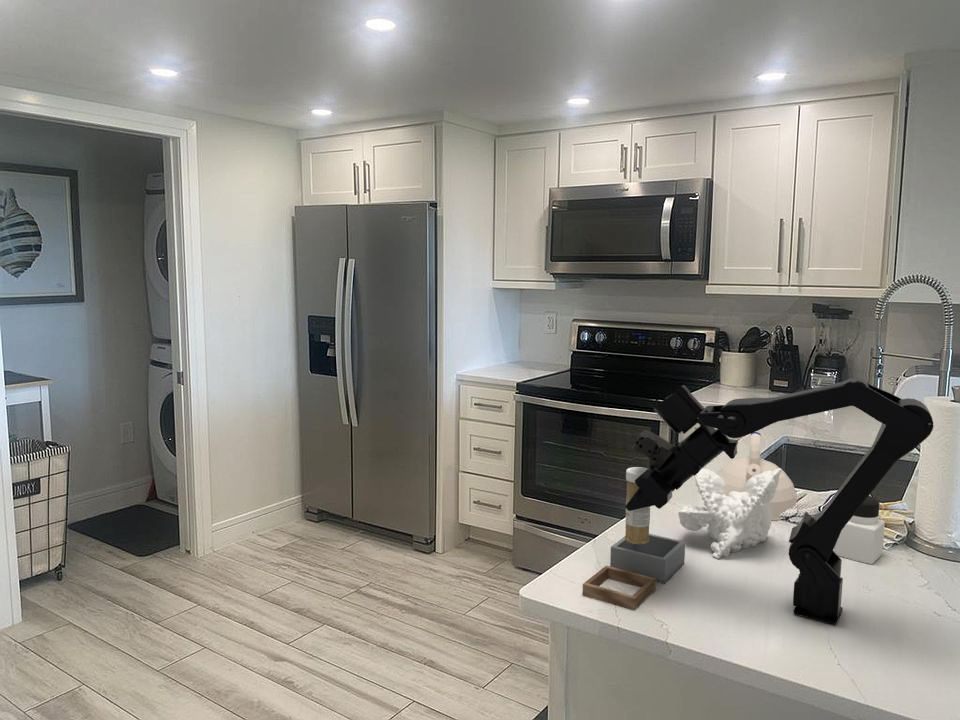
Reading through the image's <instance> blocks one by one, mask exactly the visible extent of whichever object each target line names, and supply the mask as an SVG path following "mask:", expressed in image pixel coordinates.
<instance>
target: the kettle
mask: <svg viewBox="0 0 960 720" xmlns="http://www.w3.org/2000/svg"><path fill="white" fill-rule="evenodd" d="M761 435H762V434H761V433H760V432H758V431H756V432H753V433H751V434H750V439H749V441H750V442H749V455H748V456H747V457H741V458H738V459H734V460H733V459H732V461H730V462H728V463H726V464H725V465H723V466H722V467H721V468H720V469H719V470H718V471H717V472H715V474H717V475H719V476H720V477H721V478H722V479H723V480H724V482H725V484H726V490H725V491H724V492H722V493H723V494H725V495H726V496H729V493H730V492H732V491H737V492H746V491H745V485H746V483H747V481H748V480H749V479H750V478H751V477H753V476H755V475H758V474H761V473H763V472H765V471H769V470H770V471H773V470H775V469H779V468H780V467H779V466H778V465H776V464H775V463H774V462H771V461H768V460H765V459H763V458H761V443H762V442H761V440H762V439H761ZM796 503H797V504H798V495H797V491H796V489H795V486H794V483H793V481H792V480H791V479H790V477H789V475H787V473H786V472H785V471H784V470H783V469H782V471H781V473H780V476H779V482H778V485H777V488H776V492H775V495H774V497H773V499H771V500H770V501H769V502H768V503H761V504H766V505H768V506H769V507H770V509H771V512H772V519H771V522H772V521H782V520H781V517H780V514H781V513H783V512H785V511H786V510H787V509H790V508H792V507H793V506H794V505H796Z"/></svg>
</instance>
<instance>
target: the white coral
mask: <svg viewBox="0 0 960 720" xmlns="http://www.w3.org/2000/svg"><path fill="white" fill-rule="evenodd" d="M782 470H783V469H782V468H781V467H779V469H775V470H773V471H770V470H769V471H765V472H763V473H761V474H758V475H755V476H753V477H751V478H750V479H749V480H748V481H747V483H746V485H745V491H746V492H737V491H732V492H730V493H729V496H726V495H725V494H723V493H722V492H724V491H725V490H726V484H725V482H724V480H723V479H722V478H721V477H720V476H719V475H717V474H716V472H714V471H713V470H711V469H708V468H704V467H703V468H702V469H701V470H700V471H699V473H697V474H696V475H695V479H694V480H695V486H696V487H697V489H698V490H697V492H698V494H699V495H700V496H701V499H702V501H703V505H704V506H701V507H699V506H697V505H693V504H689V505H685V506H682V508H680V509H679V510H678V514H677V515H678V518H679V524H680V525H681V526H682V527H683V528H684V529H686V530H688V531H692V532H696V531H700V530H701V529H703V528H705V527H706V529H707V532H708V534H709V535H710V537H711V539H712V540H714V541H713V542H712V543H711V544H710V549H711V550H712V551H713V553H712V557H713V558H714V559H717V560H718V559H722V557H725V558H727V557H730V552H732V553H737V552H739V551H740V550H741V549H748V548H749V547H751V548H754V547H756V546H757V545H758V544H759V543H763V542H766V540H767V539H766V538H767V537H768V535H769V530H770V529H771V525H772V521H771V519H772V512H771V509H770V507H769V506H768V505H766V504H761V503H768V502H769V501H770V500H771V499H773V497H774V495H775V492H776V488H777V485H778V482H779V476H780V473H781V471H782Z"/></svg>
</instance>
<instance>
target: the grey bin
mask: <svg viewBox="0 0 960 720" xmlns="http://www.w3.org/2000/svg"><path fill="white" fill-rule="evenodd" d="M649 539H650V540H649V542H648V543H646V544H632V543H629V542H627V541H626V540H625V536H624V537H622V538H621V539H619V540H618V541H617V542H615V543H614V544H613V545H611V546H610V556H609V557H610V559H609V560H610V561H609V562H610V563H609V566H610V567H614V568H618V569H622V570H626V571H630V572H634V573H637V574H641V575H645V576H649V577H653V578H656V583H659V584H662V585H665V584H666V583H667V582H668V581H669V580H670V579H671V578H672V577H673V576H674V575H675V574H676V573H677V572H678V571H679V570H680V569H681V568H682V567H683V566H684V565H685V559H686V558H685V556H686V541H684V540H678V539H675V538H670V537H665V536H661V535H658V534H657V535H656V534H653V533H649Z"/></svg>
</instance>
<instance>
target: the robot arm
mask: <svg viewBox="0 0 960 720" xmlns="http://www.w3.org/2000/svg"><path fill="white" fill-rule="evenodd" d="M848 407H855V408H856V409H858V410H860V411H861V412H863V413H865V414H867V415H868V416H870V417H871V418H872V419H874V420H876V421H877V422H879V423H881V425H880V428H879V430H878V432H877V434H876V437H875V439H874V442H873V444H872V445H871V446H870V448H868V450H867V451H866V453H865V454H864V455H863V457H862V458H861V459H860V460H859V461H858V463H857V464H856V466H855V467H854V468H853V470H852V471H851V473H850V474H849V475H848V476H847V477H846V478H845V481H843V483H842V484H841V486H840V487H839V488H838V489H837V491H836V492H835V493H834V495H833V496H832V497H831V499H830V500H829V501H828V502H827V503H826V505H825V506H824V508H823V509H822V510H821V511H819V512H818V513H816V514H815V515H814V516H812V515H810V514H809V513H808V512H807V511H805V512H804V514H803V516H802V518H801V520H800V522H799V523H798V524H797V525H795V526H793V527H792V528H791V532H790V535H789V539H788V543H790V545H789V547H788V548H789V549H788V552H787V553H788V557H789V561H790V562H791V564H792V566H794V567H795V568H796V569H798V570H799V574H798V575H797V576H798V577H797V578H796V580H795V581H794V583H793V594H792V595H793V596H792V597H793V598H792V606H793V607H794V609H793V614H794V615H796V616H800V617H803V618H808V619H811V620H816V621H820V622H824V623H827V624H831V625H838V622H839V620H840V617H841V615H842V613H843V609H844V608H843V607H842V594H843V582H844V580H843V579H844V578H843V577H841V574H842V561H843V560H842V559H841V558H842V557H840V556H838V555H837V554H836V553H835V552H834V547H835V545H836V542H837V540H838V538H839V535H840V533H841V531H842V529H843V528H844V527H845V525H846V524H847V523H848V522H849V520H850V519H851V518H852V516H853V515H854V514H855V513H856V511H857V510H858V509H859V508H860V506H861V505H862V504H863V503H864V501H865V500H866V499H867V497H868V496H871V494H872V493H873V491H874V490H875V489H876V487H877V486H878V485H879V484H880V482H881V481H882V480H883V478H884V477H886V474H887V473H888V472H889V471H890V470H891V468H892V467H893V466H895V465H894V464H896V462H898V461H899V460H901V459H902V458H904V457H905V456H907V455H908V454H909V453H911V452H912V451H914V450H915V449H917V447H919V445H921V444H922V442H924V441H925V440H926V439H927V438H928V437H930V436H931V435H932V432H933V430H934V426H935V425H934V420H933V417H932V415H931V414H932V413H931V412H930V410H929V409H928V406H927V405H926V404H924V403H923V402H922V401H920V400H918V399H916V398H901V397H899V396H897V395H895V394H893V393H891V392H889V391H887V390H884V389H881V388H879V387H877V386H875V385H872V384H870V383H868V382H866V380H864V379H863V378H859V377H850V378H848V379H846V380H844V381H840V382H836V383H831V384H826V385H823V386H818V387H814V388H813V387H812V388H809V389H805V390H801V391H800V390H799V391H797V392H792V393H788V394H784V395H780V396H779V395H778V396H775V397H774V396H773V397H748V398H747V397H746V398H734V399H731V400H729V401H728V402H727V403H725V404H722V405H721V404H719V405H707V406H705V407H704V406H703V405H702V403H700V401H698V400H697V398H696V397H694V395H693V393H692V392H691V390H690V389H689V388H688V387H687V386H686V385H685V384H684V385H682V386H680V387H679V388H678V389H677V390H676V391H674V392H673V393H671V394H670V395H668V396H666V397H665V398H664V399H663V400H662V401H661V402H659V403H658V404H657V405H656V406H655V407H654V408H653V410H654V412H655V413H656V414H657V415H658V416H659V417H660V419H662V420H663V421H664V422H665V424H666V425H667V426H668V427H669V428H670V429H671V430H672V431H673V433H675V434H676V433H678V434H681V433H682V434H683V435H684V434H686V433H687V432H689V431H690V430H691V429H692V428H693V427H695V426H696V425H697V424H698V425H699V426H698V427H697V428H696V429H695V430H694V431H692V432H691V433H690V434H688V435H687V436H686V437H685V438H684V439H682V440H681V441H677V442H676V443H675V444H672V443H670V442H669V441H667V440H666V439H665V438H663V437H661V436H660V435H657V434H655V433H654V432H652V431H650V430H648V429H644V430H643V431H642V432H640V433H639V434H638V437H637V438H636V440H635V442H634V445H633V447H632V449H633V451H635V452H636V453H638V454H639V453H640V454H642V455H644V456H645V457H647V458H649V459H650V460H652V461H654V462H653V463H652V464H651V465H650V468H647V470H646V471H645V472H643V473H642V474H641V475H640V476H639V477H638V478H637V479H636V480H635V483H636V485H637V486H638V487H639V489H638V490H637V492H636V493H635V494H634V496H633V497H632V498H631V499H630V501H629V502H628V503H627V505H626V504H625V509H626V508H627V510H628V511H632V510H636V509H640V508H645V507H649V506H650V507H654V506H655V508H656V509H658V510H660V509H662V508H663V507H664V506H665V505H666V504H668V503H669V502H670V500H672V498H673V492H674V491H675V490H676V491H678V489H680V488H681V487H682V486H683V485H684V484H685V483H686V482H687V481H688V480H690V479H691V478H692V477H696V474H697V473H699V471H700V470H701V469H702V468H703V469H704V468H705V467H706V466H707V465H708V464H710V463H711V462H713V460H714V459H716V458H717V457H718V456H719V455H721V454H722V453H723V452H724V453H725V454H726V455H727V456H728V458H729V459H731V460H733V459H734V458H735V457H736V456H737V454H738V443H739V441H738V440H736V439H741V438H743V437H745V436H748V435H751V433H753V432H758V431H760V430H762V429H764V428H766V427H768V426H771V425H772V424H776V423H778V422H781V421H783V422H784V421H786V420H791V419H796V418H801V417H805V416H810V415H815V414H819V413H825V412H829V411H834V410H838V409H839V410H840V409H842V408H848Z"/></svg>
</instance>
